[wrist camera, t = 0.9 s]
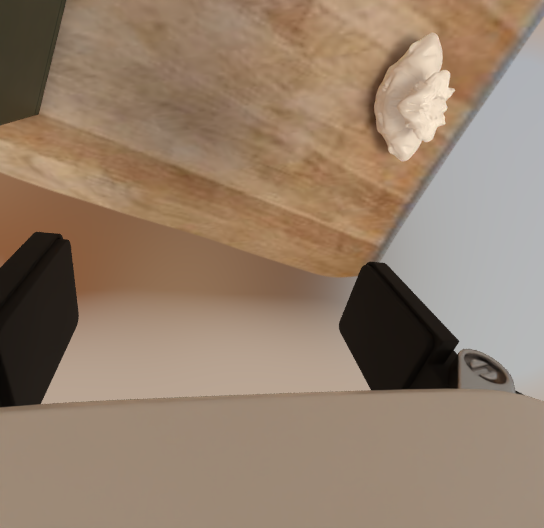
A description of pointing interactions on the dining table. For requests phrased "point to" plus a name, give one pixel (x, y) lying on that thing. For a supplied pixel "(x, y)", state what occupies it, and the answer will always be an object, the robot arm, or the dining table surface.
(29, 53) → the trash bin
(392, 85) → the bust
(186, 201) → the dining table surface
